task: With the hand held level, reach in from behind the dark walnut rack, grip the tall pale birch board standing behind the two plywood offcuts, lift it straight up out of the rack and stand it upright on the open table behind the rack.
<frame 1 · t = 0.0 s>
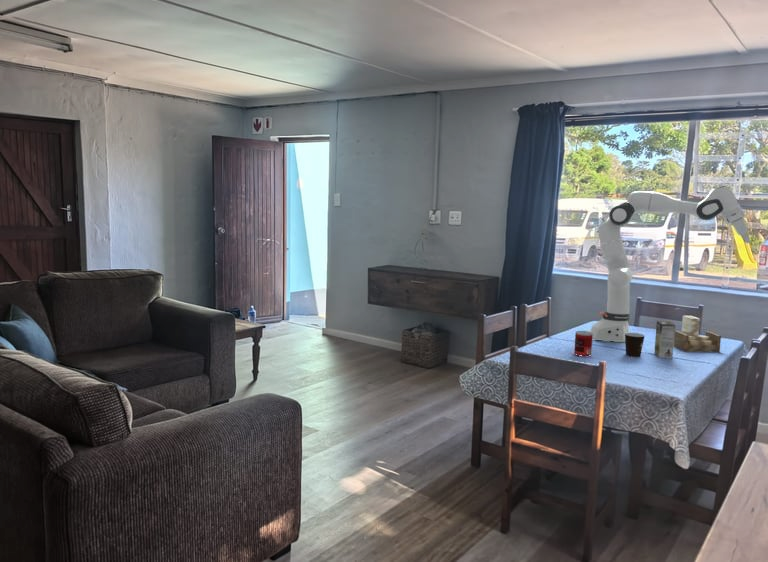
hand: (747, 242, 277), 54 cm above the table, tool tilted 30°, fingers open, 8 cm apart
coffee box: (663, 356, 274), on the table
walnut rack: (696, 348, 289), on the table
front plywood offcut: (698, 350, 286), on the table
tall birch sheet: (688, 345, 296), on the table
canned food: (582, 355, 272), on the table
back plywood offcut: (696, 349, 289), on the table
coffee mug: (635, 355, 275), on the table
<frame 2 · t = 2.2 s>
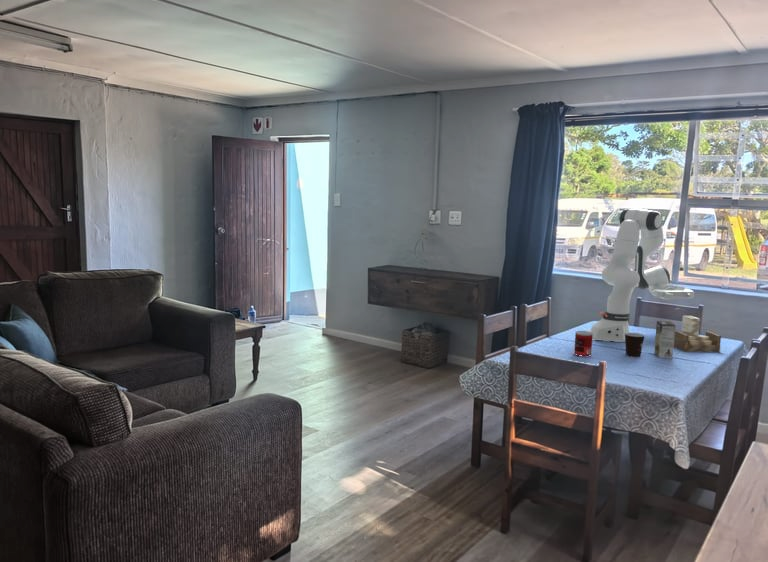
hand: (680, 295, 305), 24 cm above the table, tool horizontal, fingers open, 8 cm apart
nothing on the table moved.
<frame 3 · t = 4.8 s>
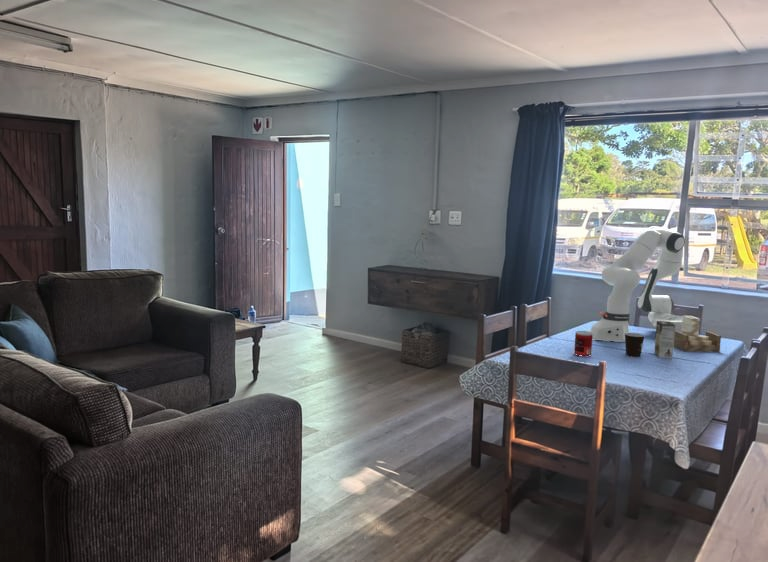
hand: (680, 326, 304), 8 cm above the table, tool horizontal, fingers open, 8 cm apart
nothing on the table moved.
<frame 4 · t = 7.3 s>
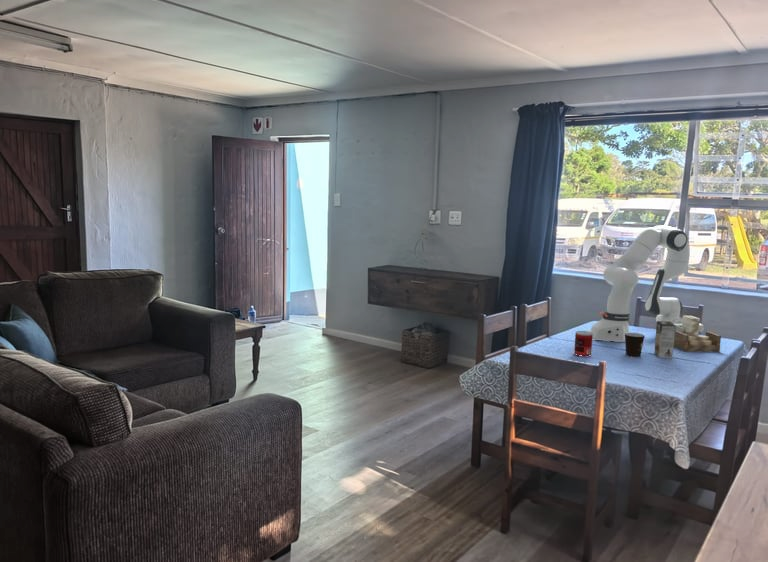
hand: (689, 330, 295), 8 cm above the table, tool horizontal, fingers closed on tall birch sheet, 4 cm apart
tall birch sheet: (688, 345, 296), on the table, touching gripper
everything else where it was.
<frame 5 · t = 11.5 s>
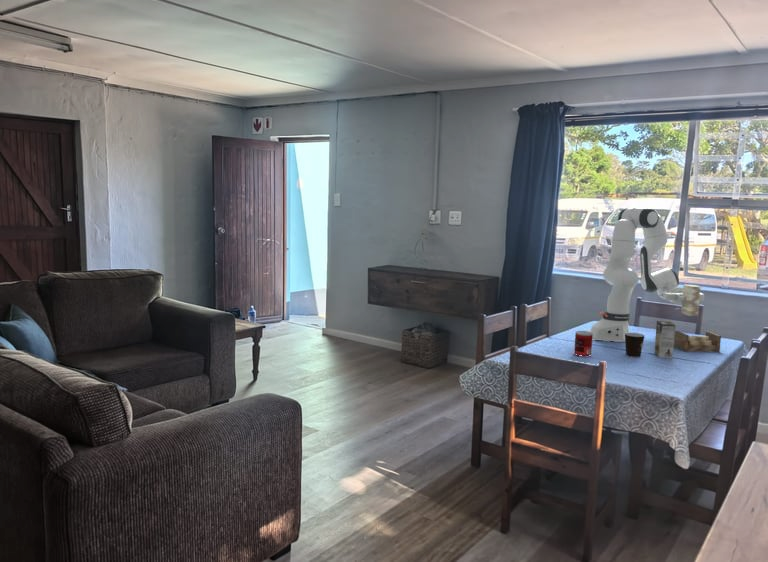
hand: (690, 298, 295), 24 cm above the table, tool horizontal, fingers closed on tall birch sheet, 4 cm apart
tall birch sheet: (689, 314, 296), point 16 cm above the table, touching gripper
everything else where it was.
when the fingers open (9 cm above the table, at t = 15.9 s): tall birch sheet drops 1 cm, on the table.
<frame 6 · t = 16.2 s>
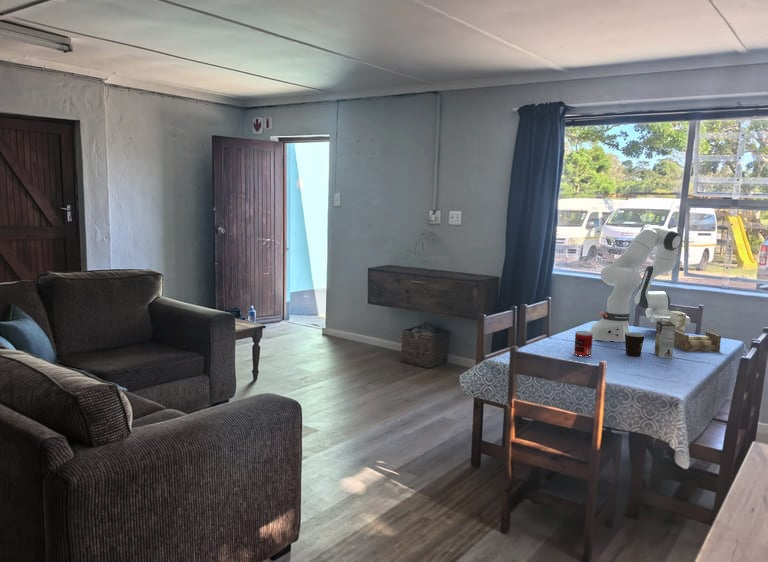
hand: (677, 322, 308), 9 cm above the table, tool horizontal, fingers open, 7 cm apart
tall birch sheet: (675, 339, 309), on the table
everything else where it was.
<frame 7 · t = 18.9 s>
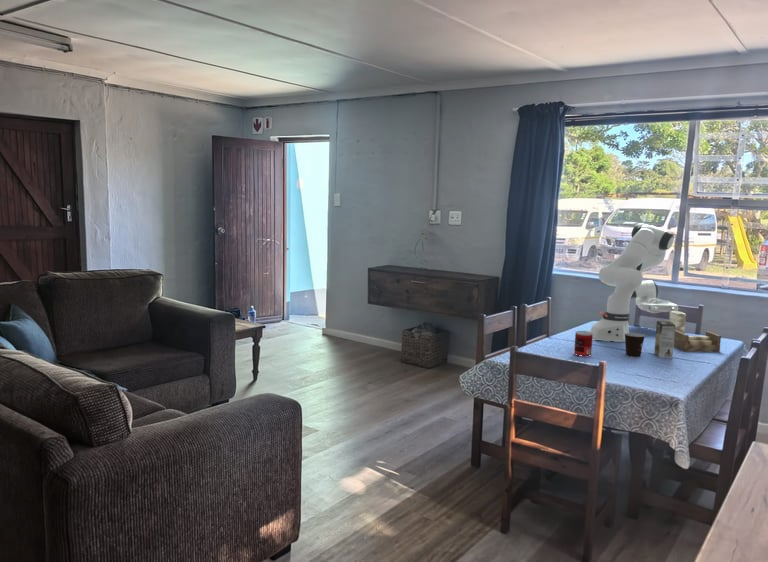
hand: (665, 309, 320), 14 cm above the table, tool horizontal, fingers open, 8 cm apart
nothing on the table moved.
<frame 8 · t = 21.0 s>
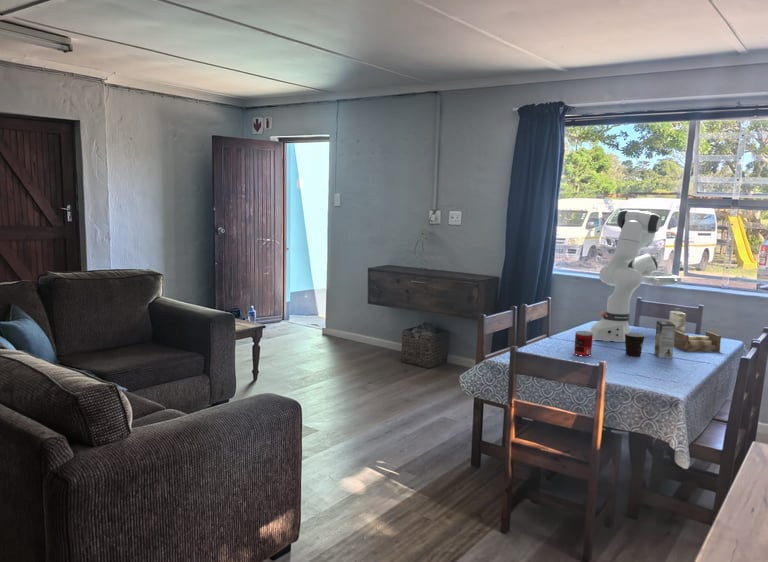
hand: (668, 281, 318), 30 cm above the table, tool horizontal, fingers open, 8 cm apart
nothing on the table moved.
at the end: tall birch sheet inside the target area (1.0 cm from its centre), on the table; tall birch sheet tilted 0°; the gripper is holding nothing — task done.
